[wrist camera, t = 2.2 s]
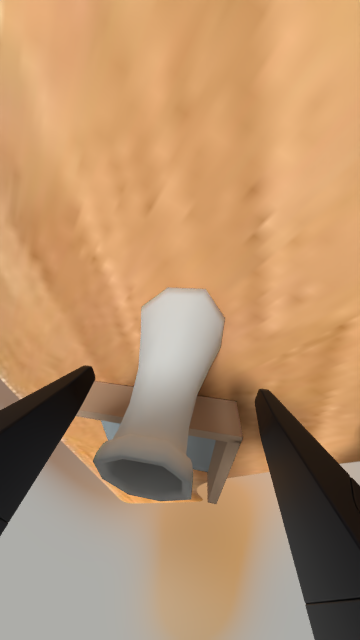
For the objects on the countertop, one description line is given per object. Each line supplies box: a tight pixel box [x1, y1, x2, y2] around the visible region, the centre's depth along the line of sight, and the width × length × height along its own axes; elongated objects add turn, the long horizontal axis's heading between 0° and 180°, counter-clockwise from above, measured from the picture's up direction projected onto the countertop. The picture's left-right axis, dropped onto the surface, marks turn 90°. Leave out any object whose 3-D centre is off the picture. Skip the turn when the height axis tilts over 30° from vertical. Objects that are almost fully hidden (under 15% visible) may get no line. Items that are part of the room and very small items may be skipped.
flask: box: [93, 288, 225, 501], centre depth 9 cm, size 7×7×10 cm
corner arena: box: [76, 381, 243, 504], centre depth 21 cm, size 18×18×4 cm
